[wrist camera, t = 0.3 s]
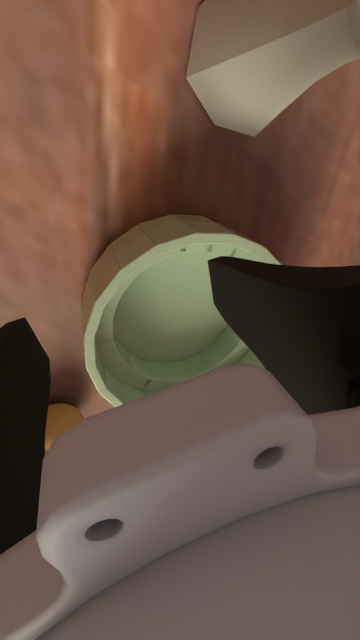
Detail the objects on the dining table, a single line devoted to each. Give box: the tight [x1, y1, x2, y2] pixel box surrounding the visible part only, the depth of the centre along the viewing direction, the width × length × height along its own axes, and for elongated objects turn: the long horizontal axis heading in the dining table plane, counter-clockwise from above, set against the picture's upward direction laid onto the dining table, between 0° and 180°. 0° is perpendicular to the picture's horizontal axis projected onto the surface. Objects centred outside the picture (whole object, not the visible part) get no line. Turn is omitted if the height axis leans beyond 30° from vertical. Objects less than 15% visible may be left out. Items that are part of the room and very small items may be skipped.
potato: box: [45, 403, 84, 455], centre depth 24 cm, size 7×4×4 cm, turn 128°
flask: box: [186, 0, 360, 137], centre depth 13 cm, size 7×7×10 cm
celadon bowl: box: [81, 214, 281, 407], centre depth 22 cm, size 14×14×6 cm
